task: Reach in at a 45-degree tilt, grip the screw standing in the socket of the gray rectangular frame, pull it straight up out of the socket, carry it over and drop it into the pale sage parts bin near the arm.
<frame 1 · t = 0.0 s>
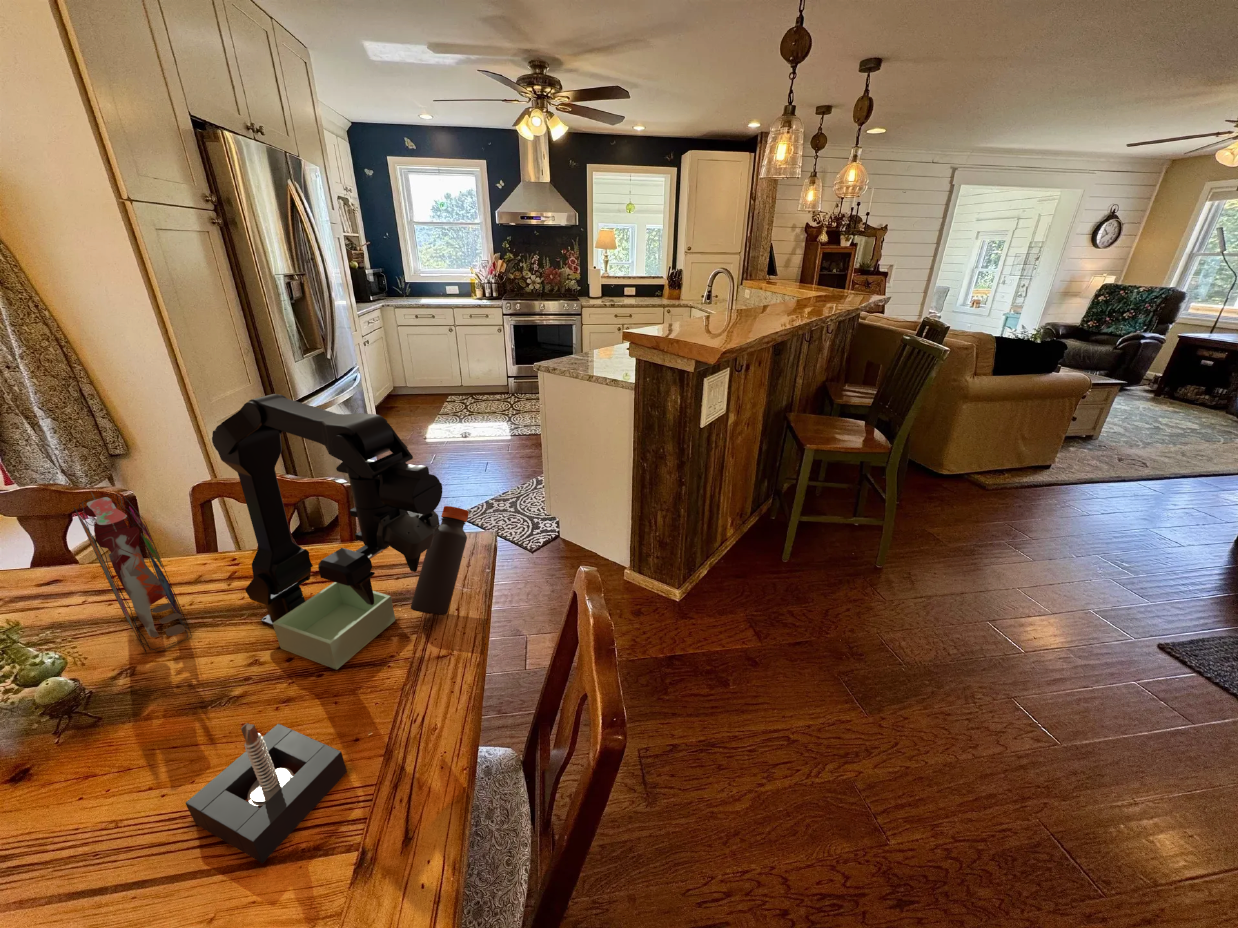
hand: (393, 586, 79), 15 cm above the table, tool pointing down, fingers open, 9 cm apart
gray rectangular frame: (275, 796, 63), on the table
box: (152, 619, 93), on the table
bottle: (428, 613, 92), point 2 cm above the table
parts bin: (340, 633, 90), on the table
screw: (275, 797, 63), on the table
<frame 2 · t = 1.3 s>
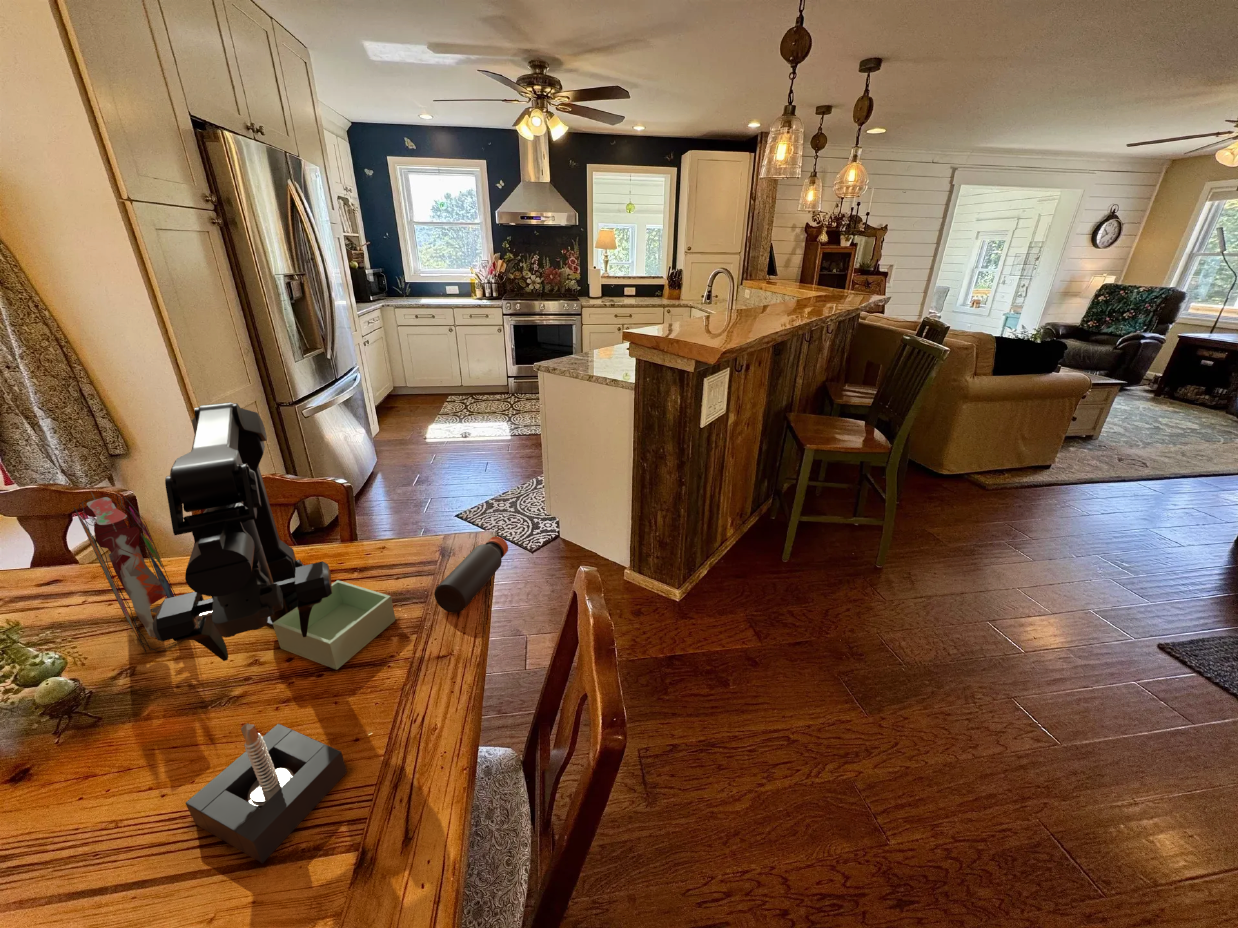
hand: (266, 646, 69), 13 cm above the table, tool pointing down, fingers open, 9 cm apart
bottle: (448, 600, 94), point 3 cm above the table
everything else where it was.
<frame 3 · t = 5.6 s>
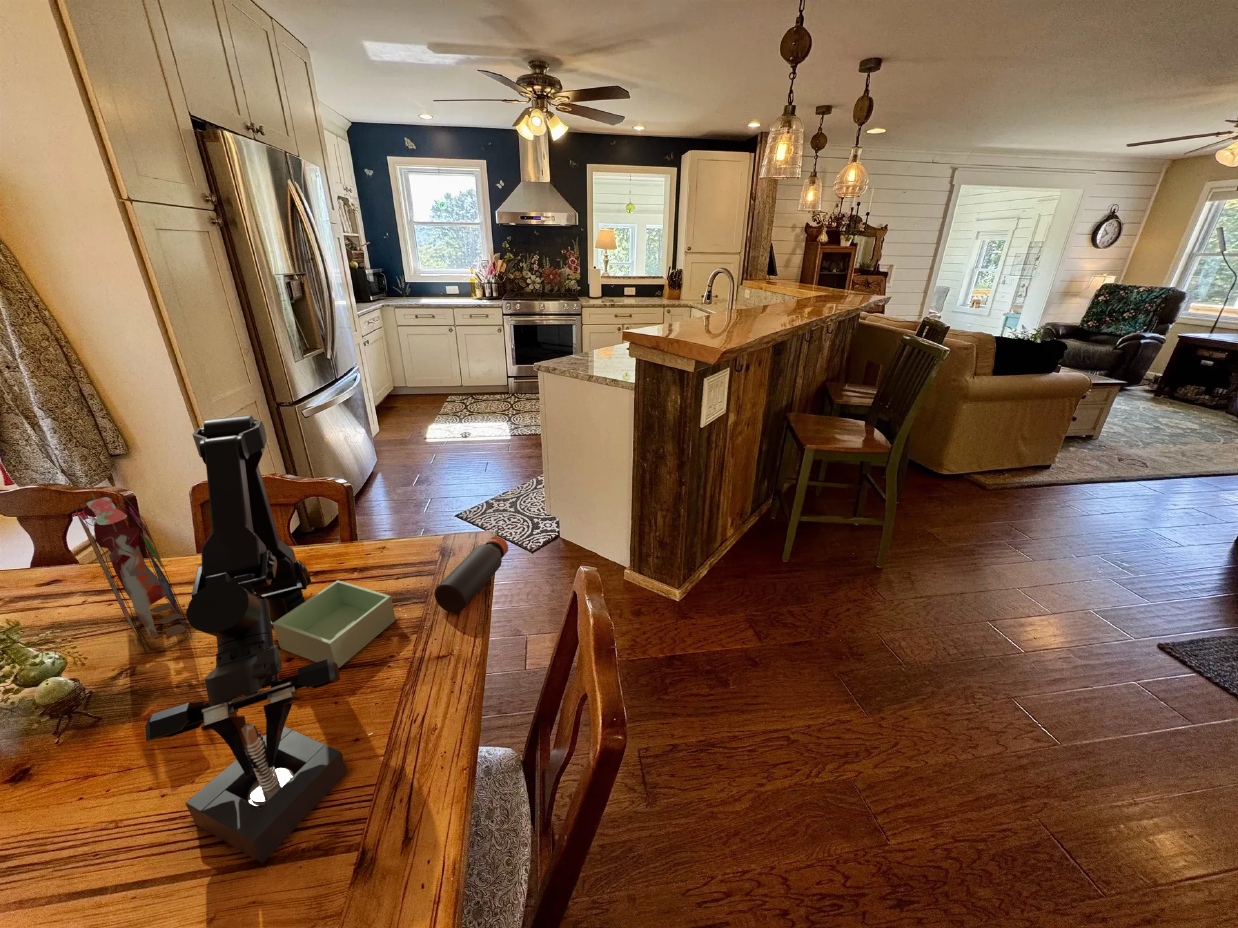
hand: (260, 771, 59), 7 cm above the table, tool tilted 45°, fingers closed on screw, 2 cm apart
screw: (275, 797, 63), on the table, touching gripper
everything else where it was.
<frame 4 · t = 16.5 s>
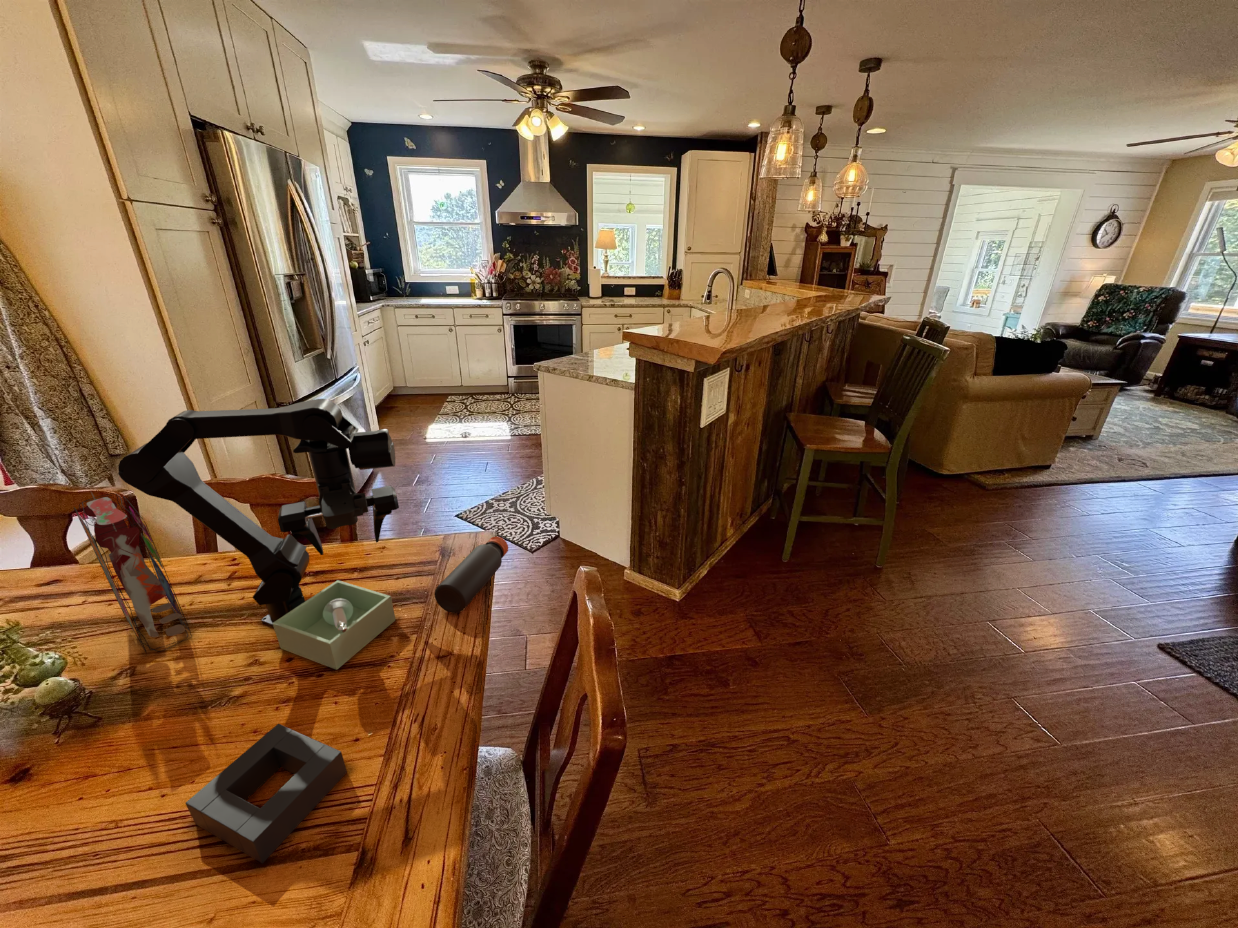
hand: (350, 547, 93), 13 cm above the table, tool pointing down, fingers open, 9 cm apart
screw: (337, 608, 93), point 2 cm above the table, touching parts bin
everything else where it was.
at the end: screw inside the target area in the parts bin (4.6 cm from its centre), point 2.4 cm above the parts bin's base; screw touching parts bin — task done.
